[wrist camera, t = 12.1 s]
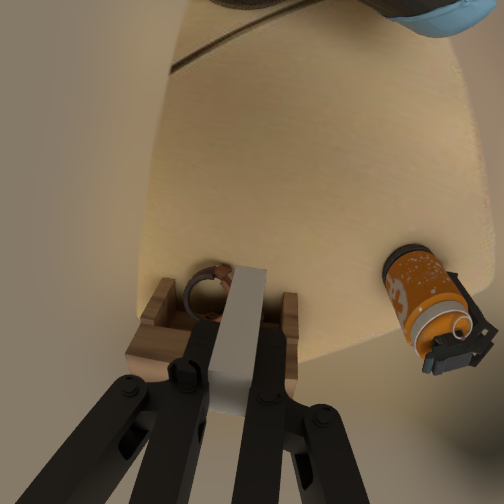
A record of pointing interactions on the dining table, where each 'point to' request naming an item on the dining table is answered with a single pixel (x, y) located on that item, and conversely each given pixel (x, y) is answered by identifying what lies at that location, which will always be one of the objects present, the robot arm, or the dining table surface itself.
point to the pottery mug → (210, 274)
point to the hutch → (178, 332)
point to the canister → (435, 311)
